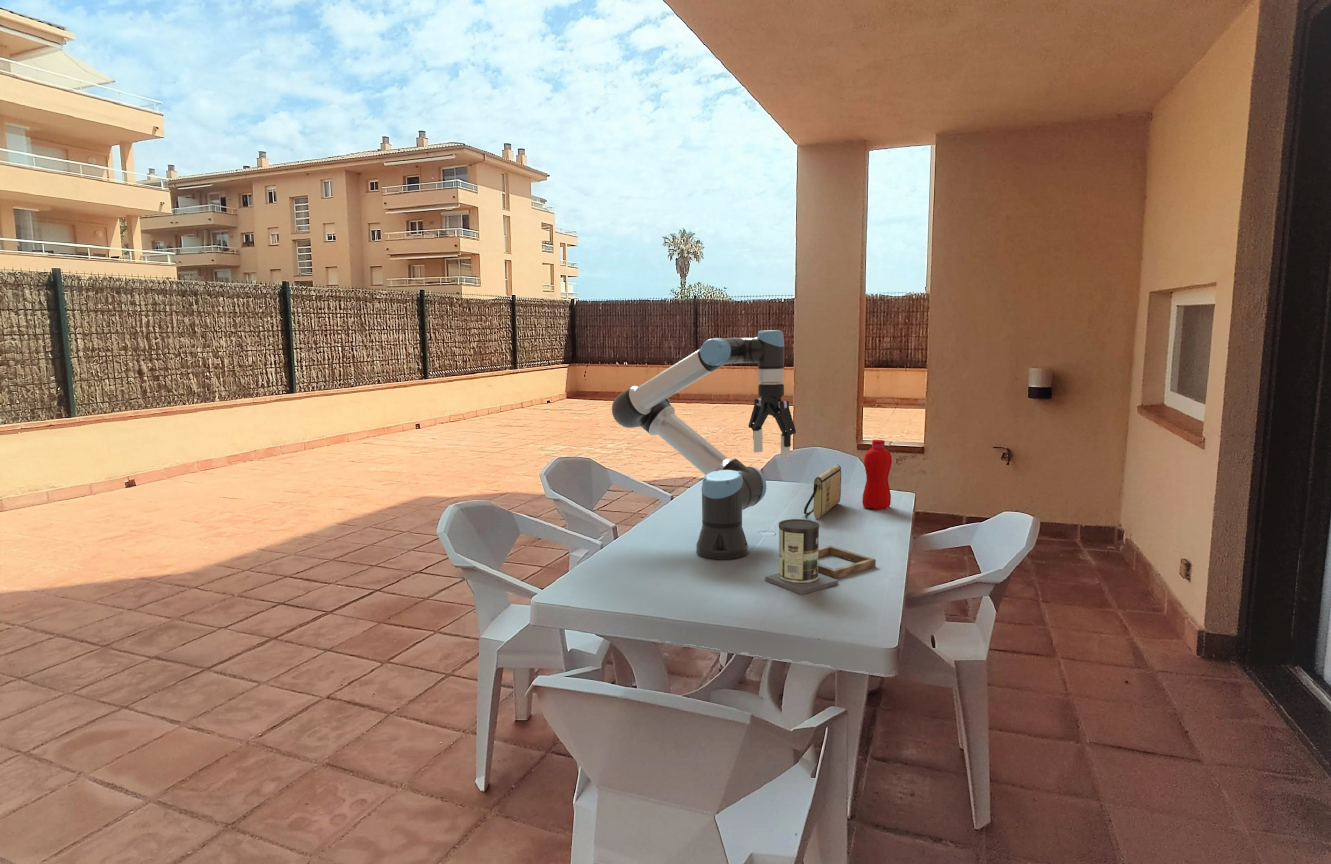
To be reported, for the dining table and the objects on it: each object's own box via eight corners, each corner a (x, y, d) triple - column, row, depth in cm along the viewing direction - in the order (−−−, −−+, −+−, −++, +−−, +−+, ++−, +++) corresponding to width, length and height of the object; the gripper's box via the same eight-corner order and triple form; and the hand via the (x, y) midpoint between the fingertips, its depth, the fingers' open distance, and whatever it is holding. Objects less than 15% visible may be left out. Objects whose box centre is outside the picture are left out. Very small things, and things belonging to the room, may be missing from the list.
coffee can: (814, 570, 191) (815, 518, 189) (821, 583, 181) (823, 529, 179) (775, 570, 191) (775, 518, 189) (780, 583, 181) (781, 529, 179)
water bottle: (893, 505, 267) (896, 438, 263) (885, 511, 257) (887, 442, 254) (868, 502, 271) (870, 436, 268) (860, 508, 262) (861, 440, 259)
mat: (801, 594, 176) (801, 590, 176) (765, 580, 187) (765, 576, 187) (838, 583, 183) (838, 580, 183) (801, 570, 194) (801, 567, 194)
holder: (834, 578, 187) (834, 571, 187) (789, 562, 201) (789, 555, 201) (875, 566, 197) (875, 559, 197) (829, 552, 210) (830, 545, 210)
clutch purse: (823, 501, 274) (824, 462, 272) (841, 503, 271) (842, 464, 269) (799, 519, 248) (800, 476, 246) (819, 521, 245) (820, 478, 243)
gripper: (808, 384, 202) (808, 459, 204) (757, 381, 224) (757, 448, 226) (786, 385, 198) (786, 461, 201) (736, 382, 220) (737, 450, 223)
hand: (771, 454), depth 214 cm, fingers open, 13 cm apart
